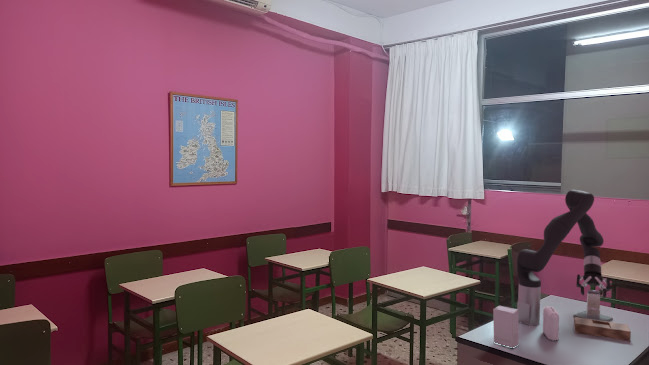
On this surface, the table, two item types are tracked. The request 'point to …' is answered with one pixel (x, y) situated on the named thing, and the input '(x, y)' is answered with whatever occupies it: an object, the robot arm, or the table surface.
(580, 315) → the rubber mat
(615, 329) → the body
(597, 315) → the lever cap
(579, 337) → the table surface
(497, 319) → the skincare box
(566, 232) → the robot arm
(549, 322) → the photo printer
